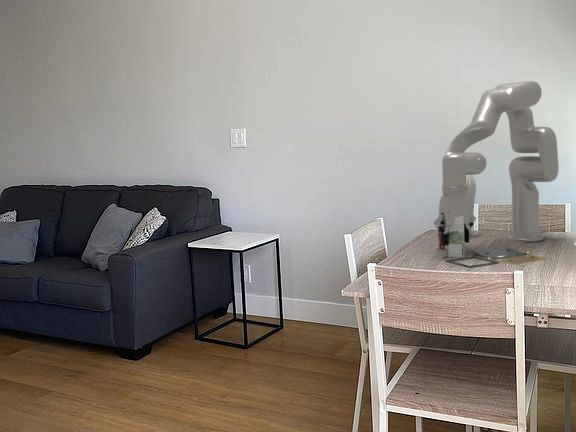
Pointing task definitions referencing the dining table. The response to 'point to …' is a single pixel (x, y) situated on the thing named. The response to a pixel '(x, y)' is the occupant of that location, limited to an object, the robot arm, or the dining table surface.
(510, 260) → the fixed leaf
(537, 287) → the dining table surface
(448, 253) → the syrup box
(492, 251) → the gray hinge leaf
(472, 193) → the vase
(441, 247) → the soda can
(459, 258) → the gray rectangular frame
